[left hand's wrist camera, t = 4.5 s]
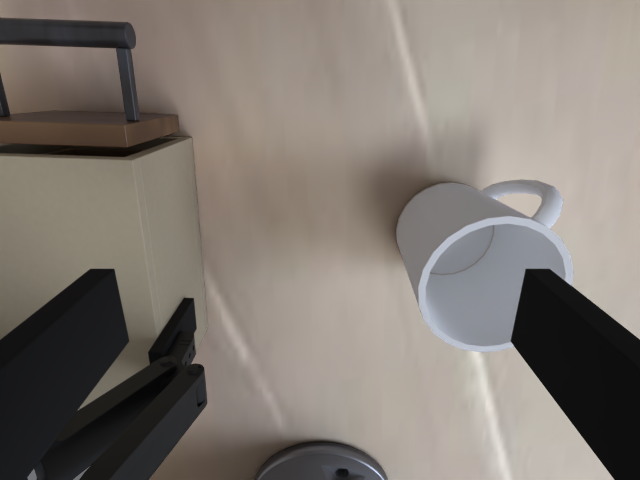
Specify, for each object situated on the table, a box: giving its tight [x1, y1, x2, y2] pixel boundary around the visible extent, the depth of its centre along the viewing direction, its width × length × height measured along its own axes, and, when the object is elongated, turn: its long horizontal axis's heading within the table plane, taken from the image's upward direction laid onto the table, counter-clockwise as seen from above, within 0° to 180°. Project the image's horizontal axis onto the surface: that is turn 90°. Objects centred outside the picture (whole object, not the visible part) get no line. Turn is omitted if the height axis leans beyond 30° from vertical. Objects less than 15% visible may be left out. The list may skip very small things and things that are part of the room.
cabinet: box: [0, 136, 208, 409], centre depth 28 cm, size 17×10×10 cm, turn 178°
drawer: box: [0, 18, 179, 157], centre depth 27 cm, size 21×9×8 cm, turn 178°
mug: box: [396, 180, 574, 352], centre depth 27 cm, size 11×9×10 cm
